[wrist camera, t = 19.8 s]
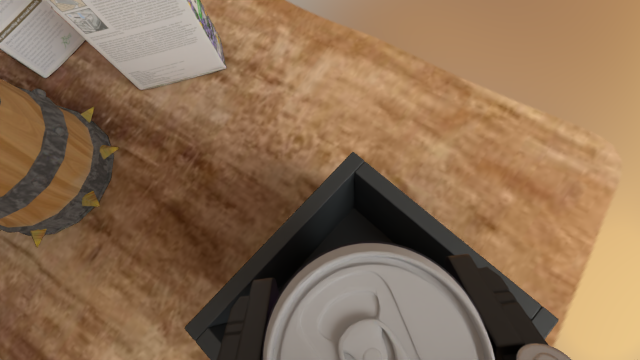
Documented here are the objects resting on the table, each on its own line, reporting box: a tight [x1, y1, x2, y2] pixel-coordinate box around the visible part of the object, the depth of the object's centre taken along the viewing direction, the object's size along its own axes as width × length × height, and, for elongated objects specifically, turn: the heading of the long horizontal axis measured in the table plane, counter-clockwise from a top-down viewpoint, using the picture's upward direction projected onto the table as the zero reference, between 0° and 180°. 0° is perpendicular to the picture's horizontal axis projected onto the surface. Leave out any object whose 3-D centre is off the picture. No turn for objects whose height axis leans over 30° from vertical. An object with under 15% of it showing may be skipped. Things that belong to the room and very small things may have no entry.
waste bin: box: [185, 152, 558, 360], centre depth 19 cm, size 12×12×9 cm
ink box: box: [46, 0, 226, 90], centre depth 24 cm, size 4×8×15 cm, turn 103°
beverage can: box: [262, 241, 495, 360], centre depth 13 cm, size 6×6×12 cm
